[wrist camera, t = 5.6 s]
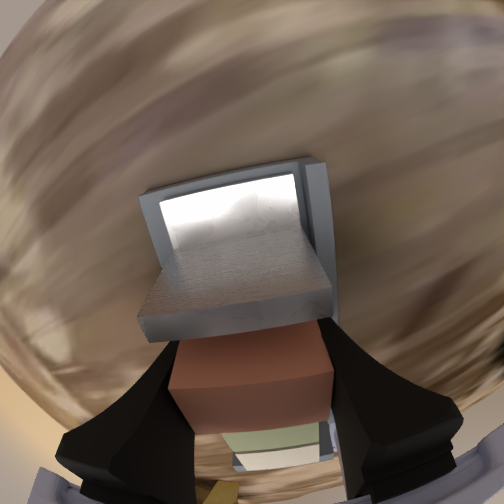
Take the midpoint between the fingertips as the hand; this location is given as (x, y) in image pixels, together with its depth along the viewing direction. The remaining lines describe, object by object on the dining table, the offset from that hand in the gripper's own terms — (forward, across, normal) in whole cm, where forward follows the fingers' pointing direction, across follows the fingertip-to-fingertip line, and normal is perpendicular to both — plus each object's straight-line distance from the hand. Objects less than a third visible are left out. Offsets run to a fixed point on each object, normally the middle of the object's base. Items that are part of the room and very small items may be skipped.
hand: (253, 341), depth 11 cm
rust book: (+2, 0, 0) cm, 2 cm away
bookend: (+3, 0, -4) cm, 5 cm away
